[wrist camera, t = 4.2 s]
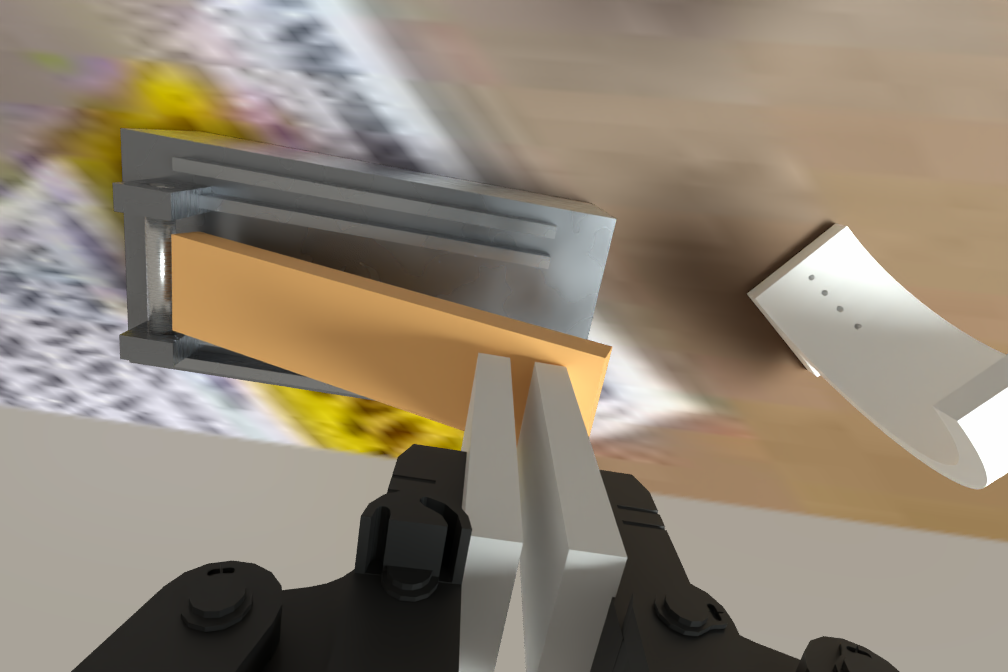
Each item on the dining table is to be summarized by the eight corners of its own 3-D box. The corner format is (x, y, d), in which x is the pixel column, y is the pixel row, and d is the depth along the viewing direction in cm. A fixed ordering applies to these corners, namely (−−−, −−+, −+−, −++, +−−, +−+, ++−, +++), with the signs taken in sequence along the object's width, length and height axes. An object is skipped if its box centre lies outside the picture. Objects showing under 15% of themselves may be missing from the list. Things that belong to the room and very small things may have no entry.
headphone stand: (835, 222, 24) (1144, 294, 13) (906, 322, 25) (1238, 467, 14) (745, 293, 25) (956, 421, 13) (818, 385, 26) (1063, 569, 15)
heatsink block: (198, 320, 25) (78, 392, 18) (200, 130, 22) (59, 125, 15) (552, 377, 26) (574, 467, 19) (592, 203, 23) (634, 230, 16)
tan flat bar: (199, 323, 18) (172, 330, 17) (199, 231, 17) (171, 234, 16) (585, 452, 15) (576, 470, 14) (612, 346, 14) (605, 358, 13)
